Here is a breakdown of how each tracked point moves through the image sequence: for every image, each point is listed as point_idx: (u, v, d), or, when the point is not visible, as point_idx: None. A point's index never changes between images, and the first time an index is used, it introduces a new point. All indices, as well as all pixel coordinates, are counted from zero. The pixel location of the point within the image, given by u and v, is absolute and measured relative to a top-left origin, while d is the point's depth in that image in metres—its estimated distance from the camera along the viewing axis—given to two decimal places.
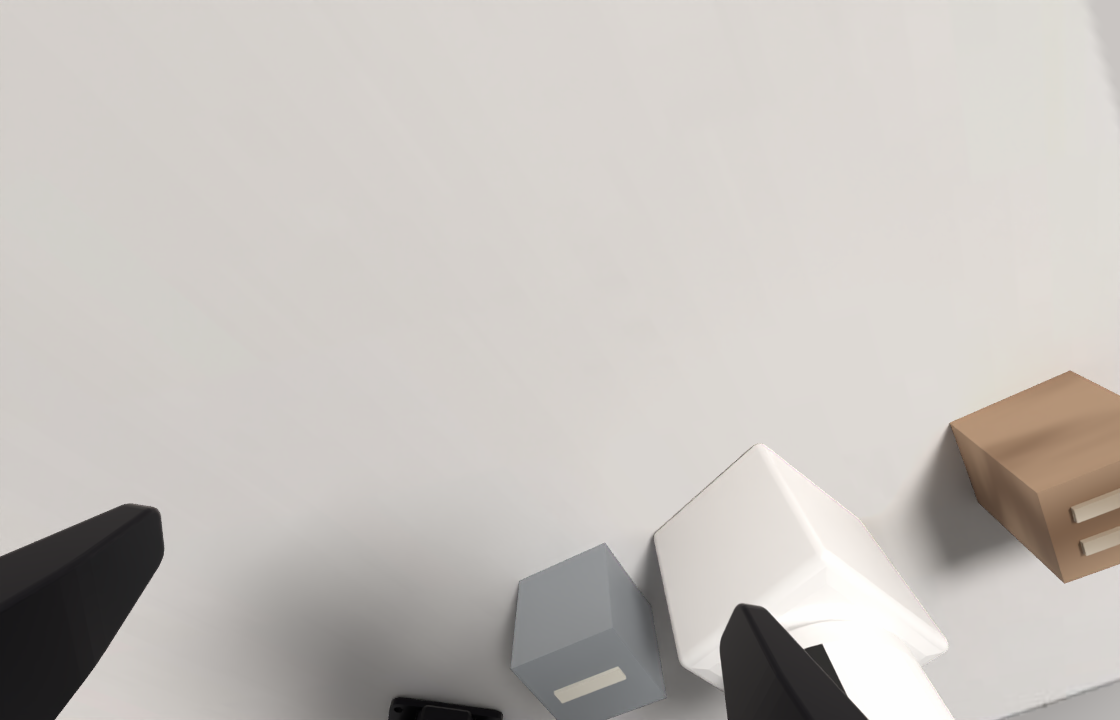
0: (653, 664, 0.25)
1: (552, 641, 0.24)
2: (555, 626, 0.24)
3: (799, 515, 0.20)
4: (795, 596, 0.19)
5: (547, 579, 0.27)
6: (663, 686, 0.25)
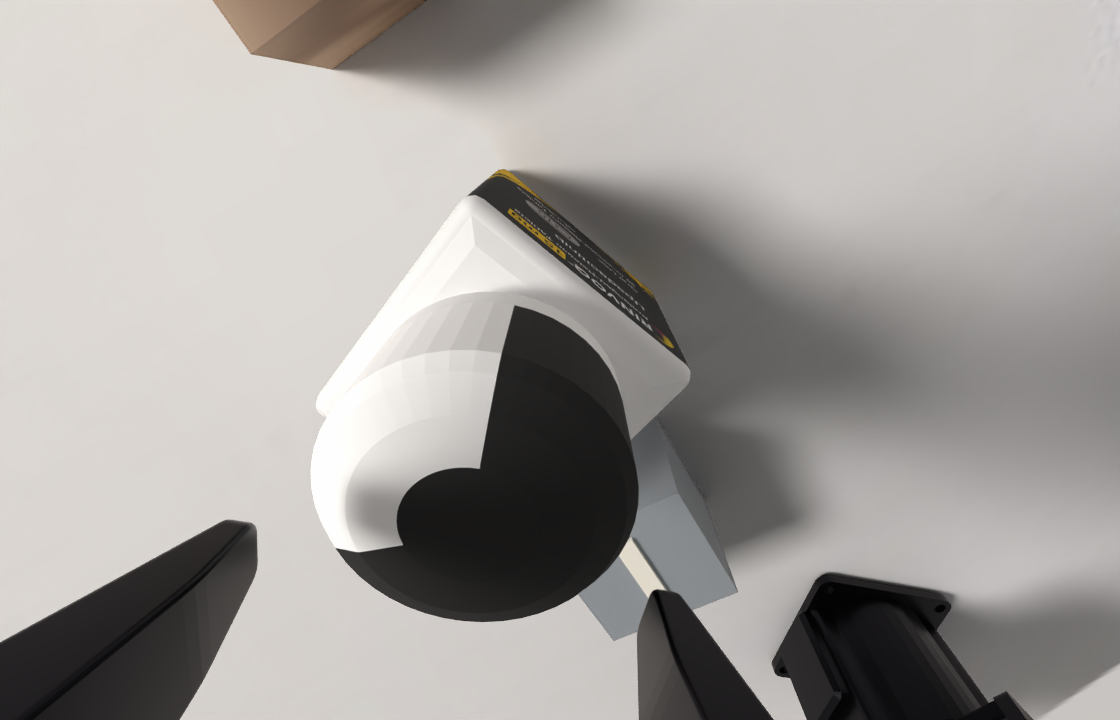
0: (646, 486, 0.19)
1: None
2: None
3: None
4: None
5: None
6: (670, 487, 0.18)
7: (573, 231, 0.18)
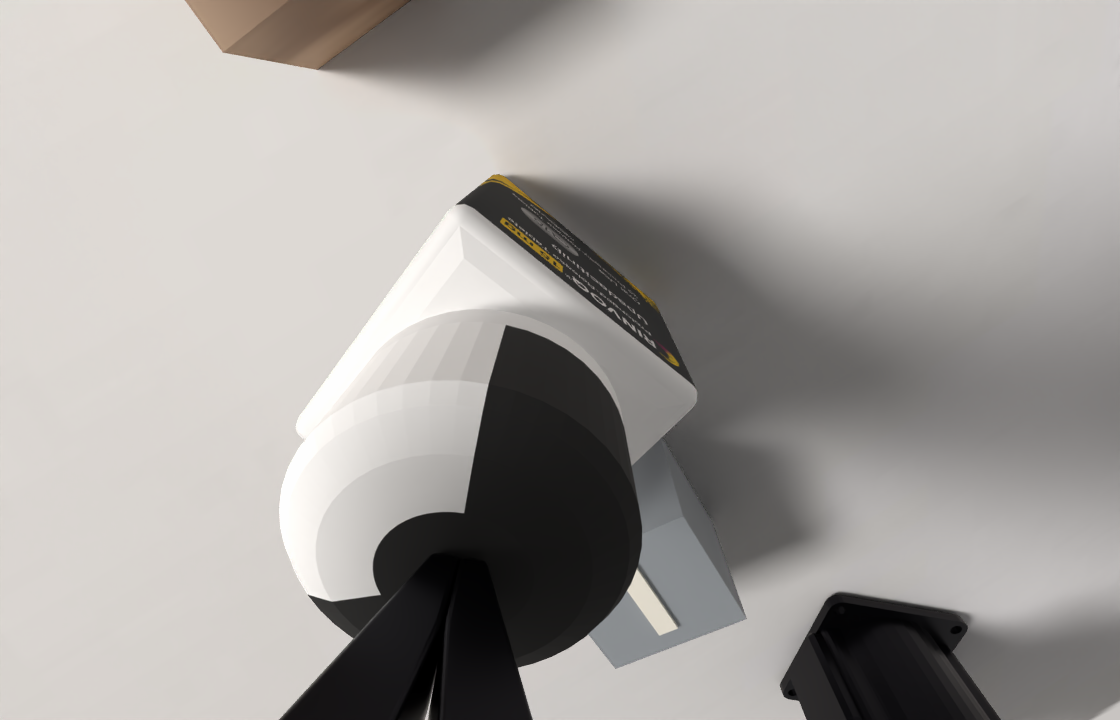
0: (649, 508, 0.18)
1: None
2: None
3: None
4: None
5: None
6: (675, 509, 0.17)
7: (572, 239, 0.17)
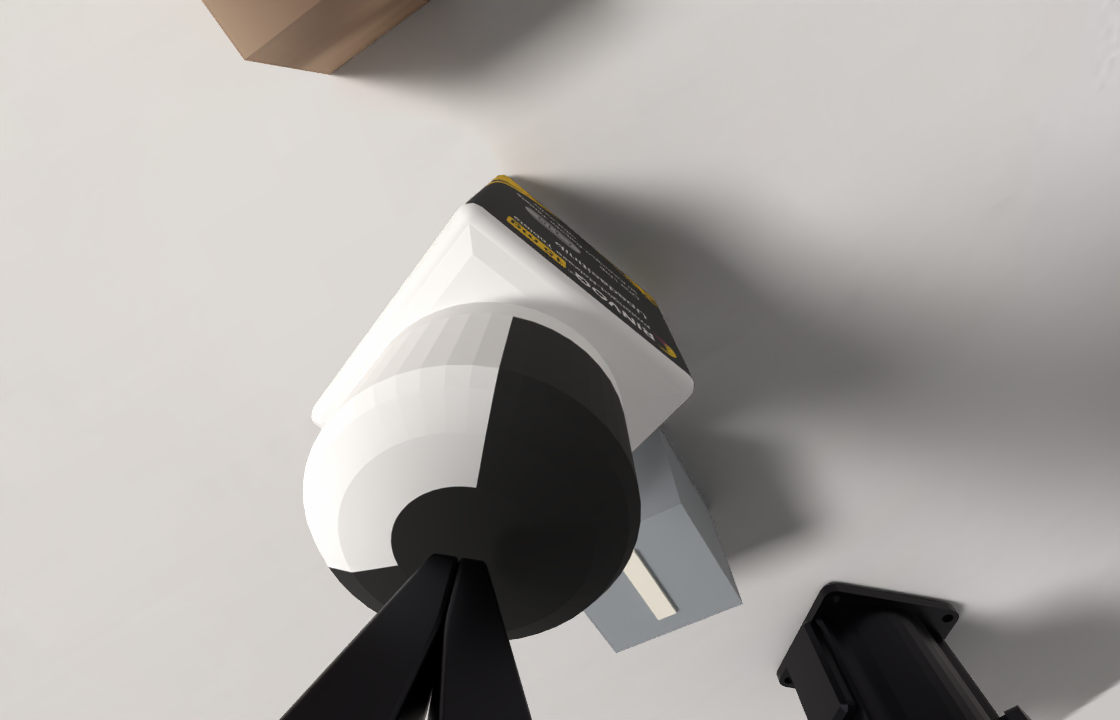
0: (649, 497, 0.19)
1: None
2: None
3: None
4: None
5: None
6: (673, 497, 0.18)
7: (574, 237, 0.18)
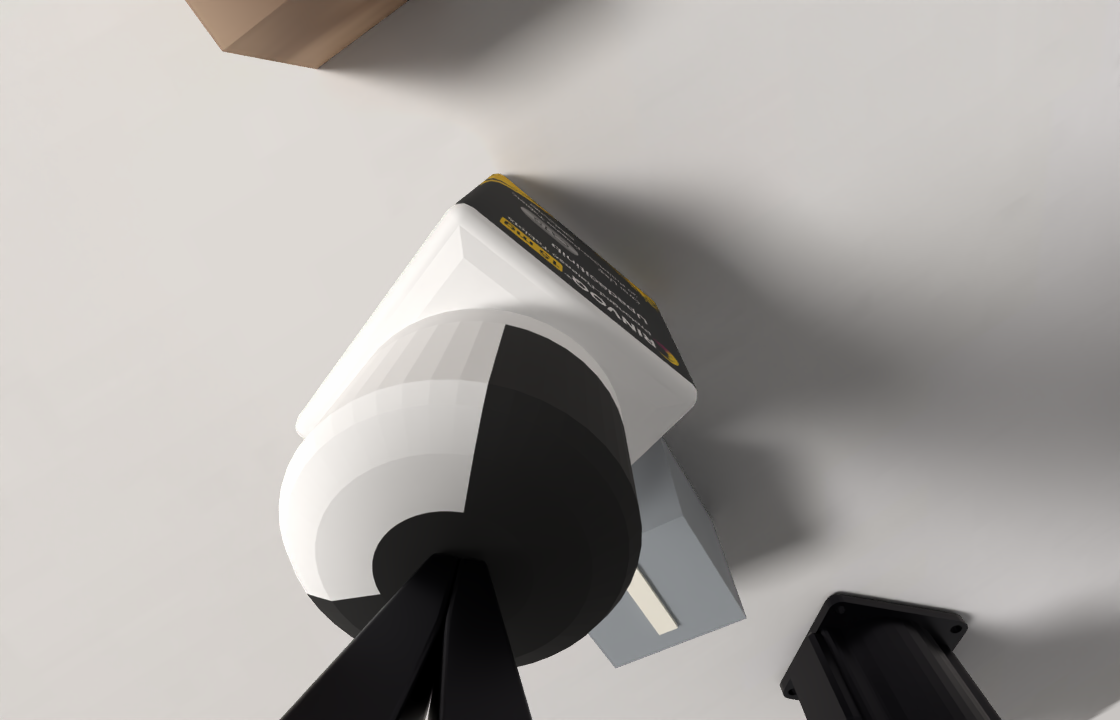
0: (649, 507, 0.18)
1: None
2: None
3: None
4: None
5: None
6: (675, 509, 0.17)
7: (571, 239, 0.17)
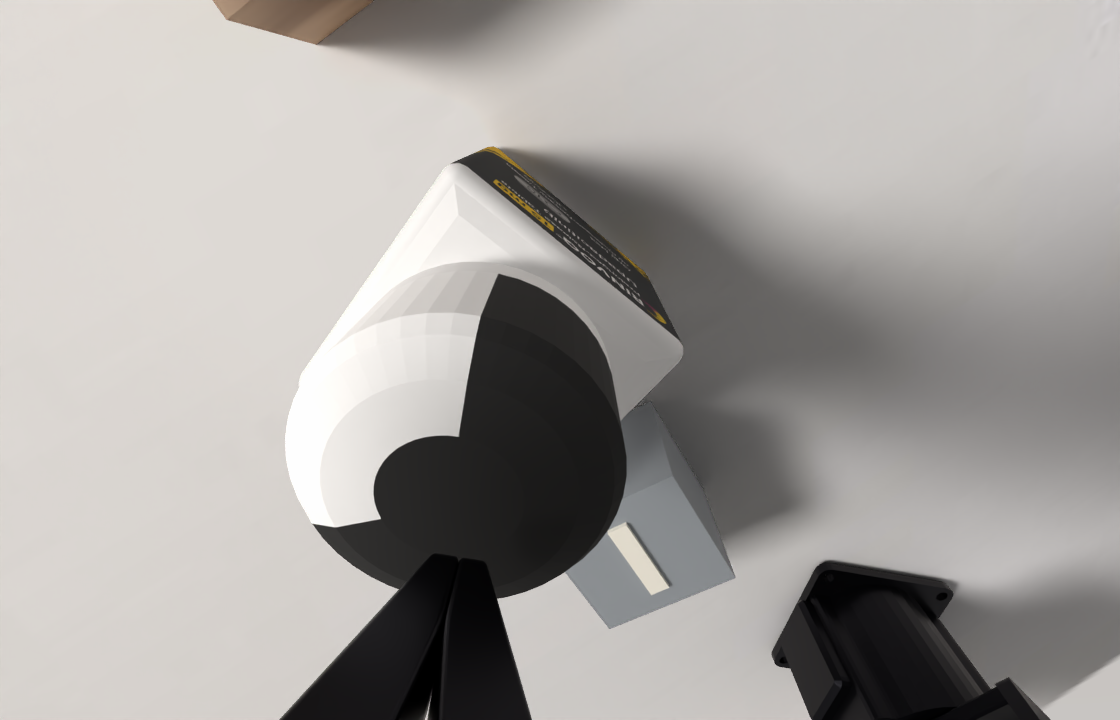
0: (641, 470, 0.19)
1: None
2: None
3: None
4: None
5: None
6: (665, 470, 0.18)
7: (564, 209, 0.17)
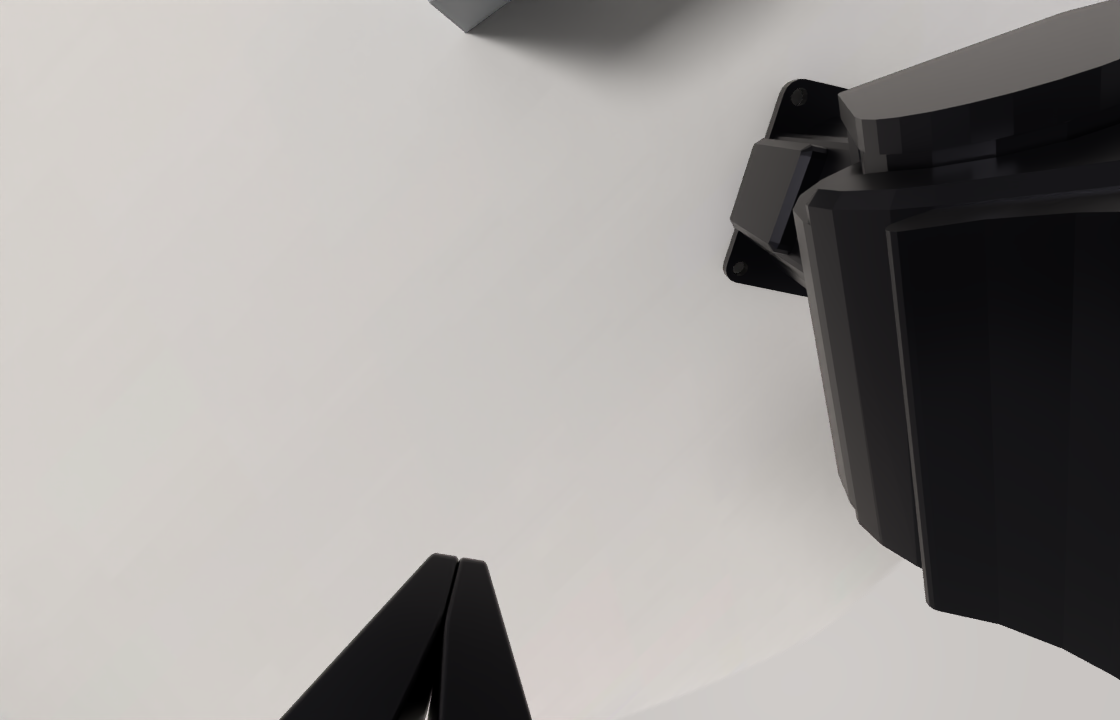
0: None
1: None
2: None
3: None
4: None
5: None
6: None
7: None
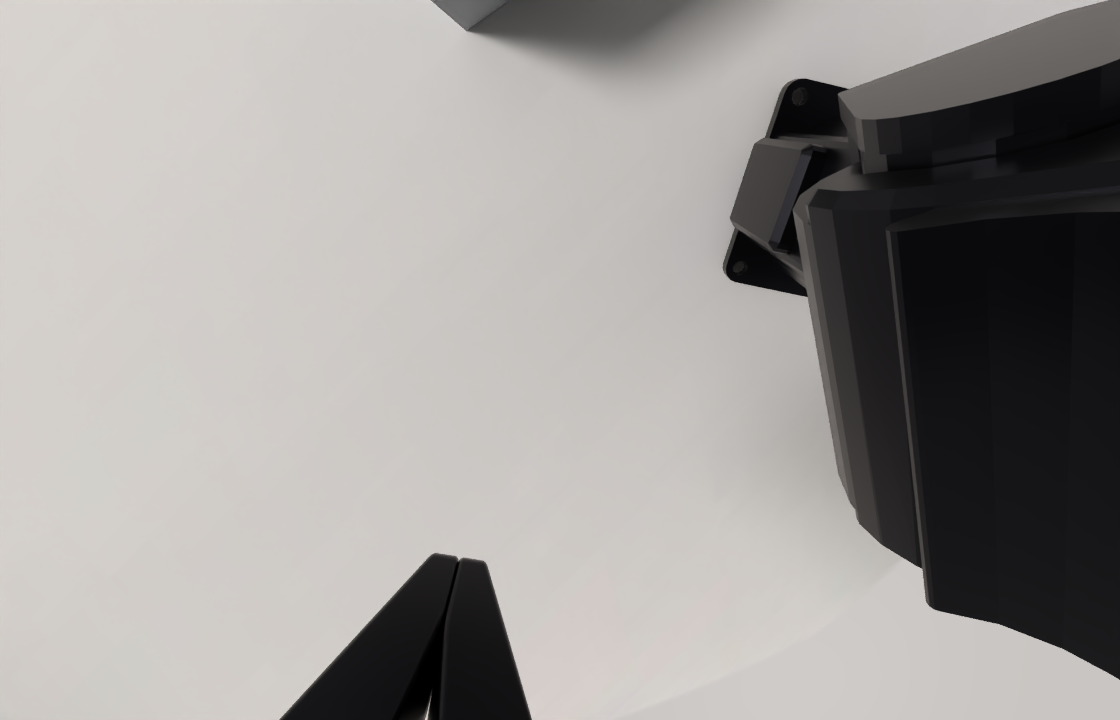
0: None
1: None
2: None
3: None
4: None
5: None
6: None
7: None
